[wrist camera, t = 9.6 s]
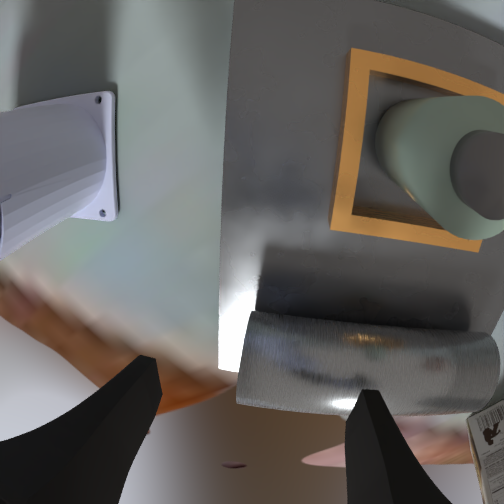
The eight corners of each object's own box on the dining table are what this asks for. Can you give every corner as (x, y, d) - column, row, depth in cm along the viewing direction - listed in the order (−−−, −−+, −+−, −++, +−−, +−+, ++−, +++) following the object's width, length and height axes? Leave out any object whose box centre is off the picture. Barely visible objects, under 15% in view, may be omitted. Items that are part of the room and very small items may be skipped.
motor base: (225, 349, 22) (199, 428, 16) (243, 0, 12) (205, -60, 6) (453, 368, 20) (478, 437, 14) (538, 77, 10) (614, 81, 4)
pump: (373, 188, 14) (421, 251, 8) (374, 94, 12) (433, 80, 6) (455, 194, 13) (535, 255, 7) (460, 106, 11) (554, 114, 5)
